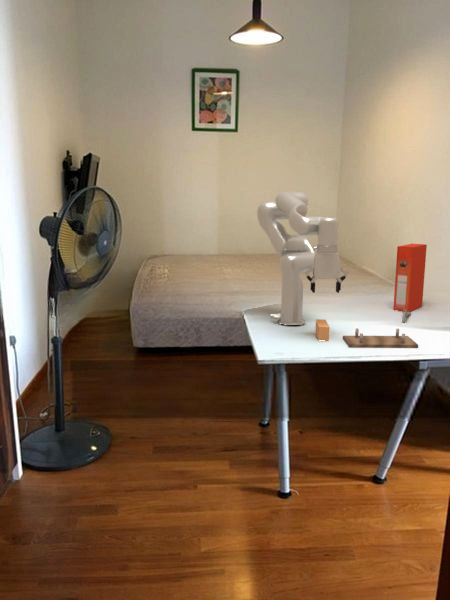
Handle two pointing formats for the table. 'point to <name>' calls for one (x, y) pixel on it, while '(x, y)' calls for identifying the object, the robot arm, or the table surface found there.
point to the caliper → (405, 315)
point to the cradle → (379, 341)
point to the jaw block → (322, 329)
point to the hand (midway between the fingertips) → (325, 292)
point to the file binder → (409, 277)
